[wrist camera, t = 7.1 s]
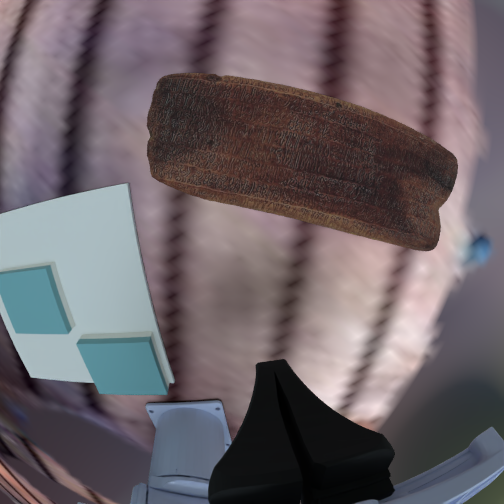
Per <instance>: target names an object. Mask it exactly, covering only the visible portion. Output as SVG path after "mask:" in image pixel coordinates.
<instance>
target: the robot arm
mask: <svg viewBox="0 0 504 504" xmlns="http://www.w3.org/2000/svg"><path fill="white" fill-rule="evenodd" d="M217 407H219V408H217ZM146 410H147V412H148V414H149V416H150V418H151V420H152V422H153V424H154V426H155V428H156V433H155V439H154V446H153V452H152V459H151V466H150V473H149V480H148V483H147V486H146V484H143V483H139V485H136V486H134V487H133V492H132V498H131V503H130V504H300V500H301V504H462V503H464V502H465V501H467V500H468V499H469V498H471V497H472V496H473V495H475V494H476V493H478V492H479V491H480V490H482V489H483V488H485V487H486V486H487V485H489V484H490V483H491V482H492V481H493V480H494V479H495V478H496V477H497V476H498V475H499V474H500V473H501V472H502V471H503V470H504V441H503V439H502V438H501V437H500V436H499V434H498V433H497V432H496V431H495V429H494V428H493V427H490V428H489V429H488V430H486V431H485V432H483V433H482V434H480V435H479V436H477V437H476V438H475V439H474V440H473V441H472V442H471V444H470V445H469V448H467V449H465V450H464V451H462V452H461V453H459V454H457V455H455V456H454V457H452V458H450V459H449V460H447V461H445V462H443V463H441V464H440V465H438V466H436V467H434V468H432V469H430V470H428V471H426V472H424V473H422V474H420V475H418V476H416V477H414V478H411V479H409V480H407V481H405V482H402V483H400V484H397V485H395V486H393V485H392V483H391V481H390V479H389V477H390V472H389V470H388V467H389V465H390V463H391V462H392V460H393V458H394V455H395V452H394V450H393V448H392V446H391V444H390V443H389V442H388V440H387V439H386V438H385V437H384V435H383V434H380V433H377V432H375V431H372V430H369V429H367V428H364V427H362V426H360V425H358V424H356V423H354V422H352V421H351V420H349V419H347V418H345V417H344V416H342V415H340V414H339V413H337V412H336V411H334V410H333V409H332V408H330V407H329V406H328V405H326V404H325V403H324V402H323V401H321V400H320V399H319V398H318V397H317V396H316V395H315V394H314V393H313V392H312V391H311V390H310V389H309V388H308V387H307V386H306V385H305V384H304V383H303V382H302V381H301V380H300V379H299V377H298V376H297V375H296V374H295V373H294V371H293V370H292V369H291V367H290V366H289V364H288V363H287V361H286V360H285V359H281V360H274V361H267V362H260V363H257V364H256V379H255V386H254V390H253V395H252V398H251V402H250V405H249V408H248V411H247V414H246V416H245V418H244V421H243V423H242V425H241V427H240V429H239V431H238V433H237V435H236V437H235V439H234V440H233V442H232V441H231V437H230V433H229V429H228V425H227V421H226V417H225V413H224V409H223V405H222V402H221V401H219V400H214V401H200V402H180V403H147V404H146ZM225 451H226V453H225ZM77 504H85V503H80V502H78V503H77Z"/></svg>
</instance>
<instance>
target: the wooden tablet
mask: <svg viewBox="0 0 504 504" xmlns="http://www.w3.org/2000/svg"><path fill="white" fill-rule="evenodd" d="M147 128H148V130H149V133H150V136H151V137H150V139H149V140H148V145H147V156H148V160H149V164H150V171H151V175H152V177H153V178H155V179H156V180H158V181H159V182H162V183H164V184H166V185H168V186H170V187H173V188H175V189H177V190H180V191H182V192H185V193H187V194H190V195H192V196H196V197H200V198H203V199H206V200H210V201H216V202H220V203H225V204H230V205H236V206H240V207H245V208H249V209H254V210H258V211H263V212H267V213H273V214H277V215H282V216H285V217H290V218H294V219H298V220H301V221H305V222H309V223H312V224H316V225H320V226H324V227H328V228H332V229H336V230H340V231H343V232H347V233H350V234H354V235H358V236H363V237H367V238H370V239H374V240H379V241H383V242H386V243H391V244H394V245H398V246H402V247H405V248H410V249H413V250H419V251H430V250H433V249H434V248H435V247H436V246H437V243H438V241H439V236H440V228H441V225H440V217H439V211H438V210H439V208H440V207H441V206H442V205H443V204H444V203H445V202H446V201H447V199H448V197H449V196H450V194H451V192H452V190H453V187H454V184H455V180H456V177H457V170H458V164H457V159H456V157H455V156H454V155H453V154H452V153H451V152H450V151H448V150H447V149H445V148H444V147H443V146H441V145H440V144H438V143H437V142H435V141H434V140H432V139H430V138H429V137H427V136H425V135H423V134H421V133H419V132H417V131H416V130H414V129H412V128H410V127H408V126H406V125H404V124H402V123H399V122H397V121H395V120H393V119H390V118H388V117H386V116H384V115H381V114H379V113H376V112H373V111H371V110H369V109H366V108H364V107H361V106H358V105H355V104H352V103H349V102H345V101H342V100H339V99H336V98H332V97H328V96H325V95H322V94H318V93H315V92H311V91H307V90H303V89H298V88H294V87H290V86H285V85H280V84H275V83H270V82H264V81H260V80H254V79H246V78H241V77H235V76H227V75H226V76H222V77H221V76H218V75H216V74H202V73H181V74H171V75H167V76H164V77H162V78H161V79H160V80H159V81H158V83H157V86H156V89H155V91H154V93H153V99H152V103H151V107H150V110H149V113H148V117H147Z"/></svg>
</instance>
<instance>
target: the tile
mask: <svg viewBox="0 0 504 504" xmlns="http://www.w3.org/2000/svg"><path fill="white" fill-rule="evenodd" d="M0 295H1V298H2V300H3V303H4V306H5V308H6V311H7V314H8V316H9V318H10V321H11V323H12V326H13V328H14V330H15V333H17V334H69V333H70V331H71V330H72V329H73V327H74V326H75V322H74V320H73V317H72V314H71V312H70V309H69V306H68V303H67V300H66V297H65V294H64V291H63V288H62V284H61V281H60V278H59V274H58V271H57V267H56V264H55V262H48V263H41V264H34V265H27V266H20V267H14V268H7V269H3V270H1V271H0Z"/></svg>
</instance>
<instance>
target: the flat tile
mask: <svg viewBox="0 0 504 504" xmlns="http://www.w3.org/2000/svg"><path fill="white" fill-rule="evenodd" d="M76 345H77V347H78V349H79V352H80V354H81V356H82V358H83V361H84V363H85V365H86V367H87V369H88V371H89V373H90V375H91V377H92V379H93V381H94V383H95V385H96V387H97V389H98V391H99V393H100V394H117V395H167V393H168V387H169V381H168V378H167V375H166V372H165V369H164V366H163V363H162V360H161V357H160V354H159V351H158V348H157V344H156V341H155V338H154V335H153V331H147V332H129V333H105V334H82V336H81V337H80V339H79V340H78V342H77V343H76Z"/></svg>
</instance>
